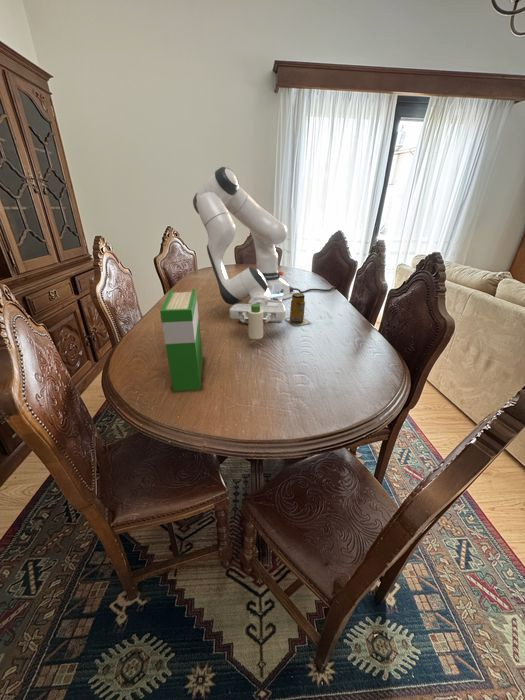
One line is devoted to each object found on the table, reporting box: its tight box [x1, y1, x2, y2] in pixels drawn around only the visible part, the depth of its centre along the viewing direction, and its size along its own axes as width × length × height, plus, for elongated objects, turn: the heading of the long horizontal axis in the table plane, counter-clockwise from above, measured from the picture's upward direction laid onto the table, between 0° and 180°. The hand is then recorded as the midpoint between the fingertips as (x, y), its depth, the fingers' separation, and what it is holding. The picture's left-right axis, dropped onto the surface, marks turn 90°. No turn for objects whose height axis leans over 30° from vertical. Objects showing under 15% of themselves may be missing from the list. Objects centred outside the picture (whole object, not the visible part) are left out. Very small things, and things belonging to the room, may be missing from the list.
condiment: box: [285, 292, 310, 326], centre depth 124 cm, size 7×8×12 cm
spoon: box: [239, 319, 282, 325], centre depth 125 cm, size 18×6×1 cm, turn 90°
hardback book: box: [159, 288, 204, 392], centre depth 83 cm, size 18×7×24 cm, turn 8°
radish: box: [247, 304, 264, 340], centre depth 99 cm, size 5×5×12 cm
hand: (255, 320), depth 98 cm, fingers closed on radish, 5 cm apart
